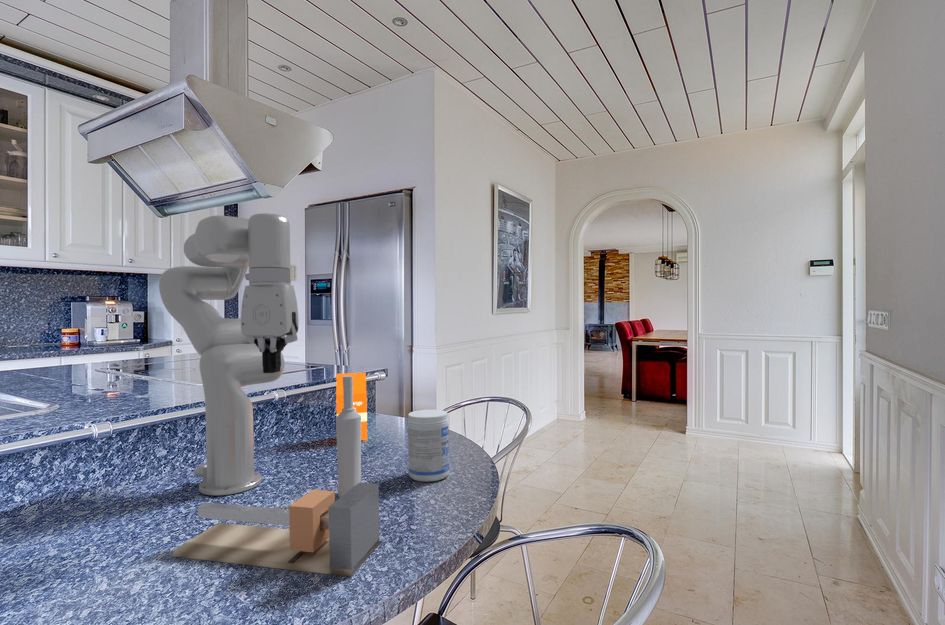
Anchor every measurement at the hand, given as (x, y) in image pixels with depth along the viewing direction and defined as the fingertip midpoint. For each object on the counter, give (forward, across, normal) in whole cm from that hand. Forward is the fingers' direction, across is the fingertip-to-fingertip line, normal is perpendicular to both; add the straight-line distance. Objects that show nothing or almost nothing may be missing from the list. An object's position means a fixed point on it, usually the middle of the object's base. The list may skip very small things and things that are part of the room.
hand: (271, 372), depth 94 cm
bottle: (+27, +11, +10) cm, 31 cm away
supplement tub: (+27, +24, +24) cm, 44 cm away
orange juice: (+27, -9, +51) cm, 59 cm away
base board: (+27, +11, -14) cm, 32 cm away
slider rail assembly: (+27, +11, -14) cm, 32 cm away
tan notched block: (+25, +17, -14) cm, 33 cm away
